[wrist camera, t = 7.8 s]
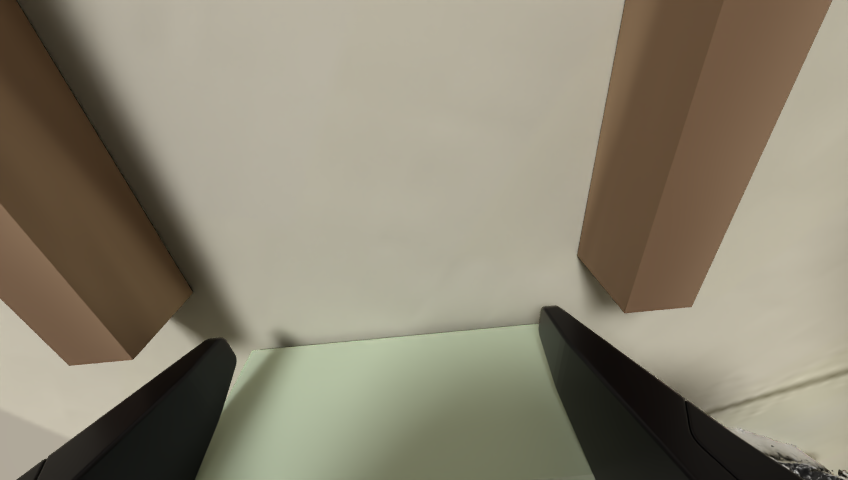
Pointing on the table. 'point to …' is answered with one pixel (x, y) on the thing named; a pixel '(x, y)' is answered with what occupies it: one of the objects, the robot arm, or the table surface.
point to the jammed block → (398, 412)
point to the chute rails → (606, 207)
